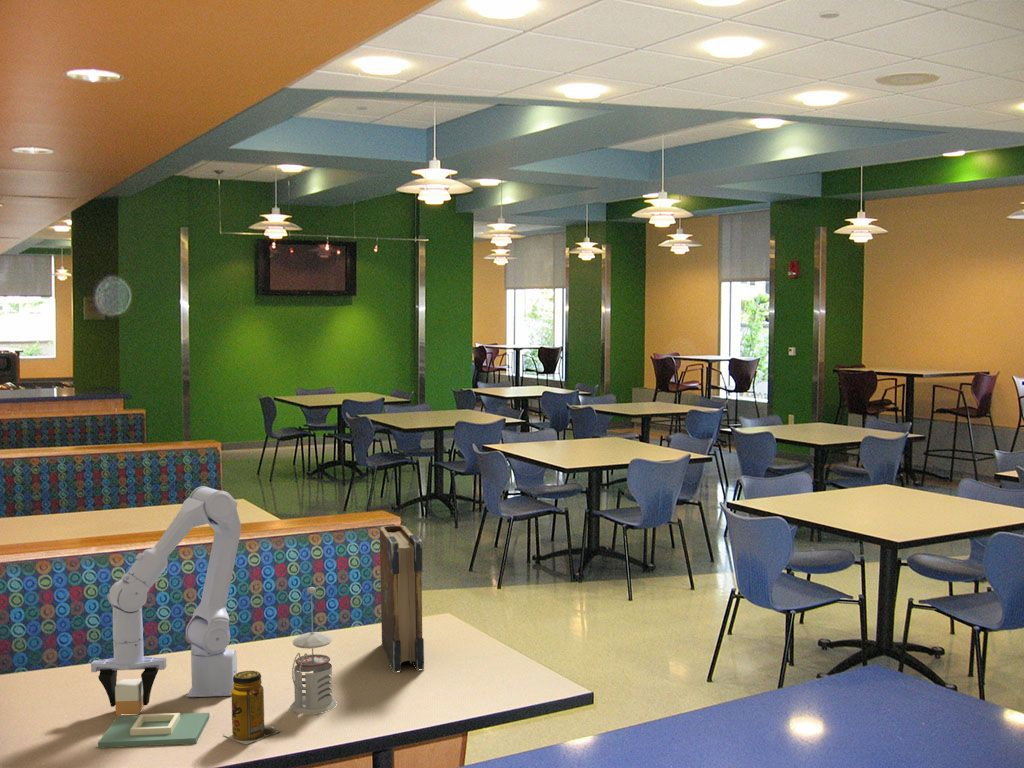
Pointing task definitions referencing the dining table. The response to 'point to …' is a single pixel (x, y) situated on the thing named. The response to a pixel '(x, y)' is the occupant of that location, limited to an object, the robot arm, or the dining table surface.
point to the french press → (312, 674)
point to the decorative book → (401, 596)
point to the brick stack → (129, 696)
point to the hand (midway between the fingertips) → (130, 704)
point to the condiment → (248, 709)
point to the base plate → (154, 730)
